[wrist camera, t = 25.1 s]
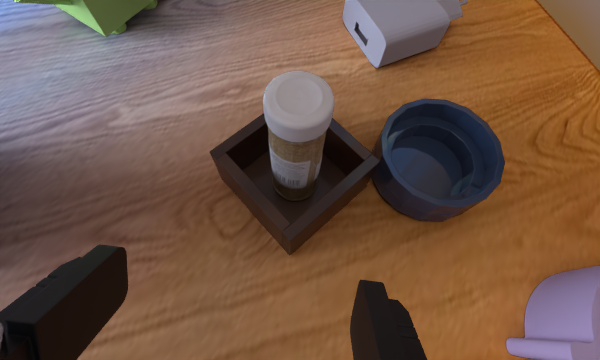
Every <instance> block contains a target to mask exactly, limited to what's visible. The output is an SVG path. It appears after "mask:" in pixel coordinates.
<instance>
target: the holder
mask: <svg viewBox="0 0 600 360" xmlns="http://www.w3.org/2000/svg"><path fill="white" fill-rule="evenodd" d="M210 154H211V156H212V158H213V160H214V163H215V165H216V167H217V169H218V171H219V174H220V176H221V178H222V180H223V181H224V182H225V183H226V184H227V185H228V186H229V188H230V189H231V190H232V191H233V192H234V193H235V194H236V195H237V197H238V198H239V199H240V200H241V201H242V202H243V203H244V205H245V206H246V207H247V208H248V209H249V210H250V211H251V212H252V214H253V215H254V216H255V217H256V218H257V219H258V220H259V221H260V223H261V224H262V225H263V226H264V227H265V228H266V229H267V230H268V232H269V233H270V234H271V235H272V236H273V237H274V238H275V239H276V241H277V242H278V243H279V244H280V245H281V246H282V247H283V248H284V250H285V251H286V252H287V253H288V254H289V255H291V254H292V253H293V252H294V251H296V250H297V249H298V248H299V247H300V246H301V245H302V244H303V243H304V242H305V241H307V240H308V239H309V238H310V237H311V236H312V235H313V234H314V233H315V232H317V231H318V230H319V229H320V228H321V227H322V226H323V225H324V224H325V223H327V222H328V221H329V220H330V219H331V218H332V217H333V216H334V215H335V214H337V213H338V212H339V211H340V210H341V209H342V208H343V207H344V206H345V205H346V204H348V203H349V202H350V201H351V200H352V199H353V198H354V197H355V196H356V195H358V194H359V193H360V192H361V191H362V190H363V189H364V188H365V187H366V186H367V184H368V182H369V181H370V179H371V177H372V175H373V174H374V172H375V170H376V168H377V167H378V165H379V163H380V161H379V160H378V159H377V158H376V157H375V156H374V155H373V154H372V153H371V152H370V151H368V150H367V149H366V148H365V147H364V146H363V145H362V144H361V143H360V142H358V141H357V140H356V139H355V138H354V137H353V136H352V135H351V134H350V133H348V132H347V131H346V130H345V129H344V128H343V127H342V126H341V125H340V124H338V123H337V122H336V121H335V120H334V119H333V118H332V120H331V123H330V125H329V127H328V129H327V130H326V136H325V141H324V146H323V151H322V161H321V166H320V171H319V174H318V183H317V186H316V189H315V191H314V192H313V194H312V195H311V196H310V197H308V198H306V199H303V200H300V201H291V200H287V199H285V198H283V197H281V196H280V195H279V194H278V193H277V192H276V190H275V188H274V186H273V172H272V167H271V159H270V149H269V132H268V125H267V123H266V121H265V117H264V114H262V115H261V116H259V117H258V118H257V119H255V120H254V121H252V122H251V123H249V124H248V125H247V126H245V127H244V128H242V129H241V130H240V131H238V132H237V133H235V134H234V135H232V136H231V137H230V138H228V139H227V140H225V141H224V142H223V143H221V144H220V145H218V146H217V147H215V148H214V149H213V150H211V151H210Z"/></svg>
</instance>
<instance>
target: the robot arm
mask: <svg viewBox="0 0 600 360" xmlns="http://www.w3.org/2000/svg"><path fill="white" fill-rule="evenodd" d="M127 291H128V273H127V254H126V250H125V248H123V247H117V246H110V245H102V244H100V245H97V246H96V247H95V248H93V249H92V250H91V251H90V252H88V253H87V254H86V255H85V256H83V257H78V258H76V259H74V260H71V261H69V262H67V263H65V264H63V265H61V266H59V267H58V268H57V269H56V270H54V271H53V272H52V273H50V274H49V275H48V277H47V278H44V279H43V280H41V281H40V282H39V283H37V284H36V286H35V287H32V288H31V289H29V290H28V291H27V292H26V293H24V294H23V295H22V296H20V297H19V298H18V299H16V300H15V301H14V302H13V303H11V304H10V305H9V306H7V307H6V308H5V309H3V310H2V311H1V312H0V360H77V358H78V357H79V356H80V355H81V353H82V352H83V351H84V350H85V349H86V347H87V346H88V345H89V344H90V343H91V341H92V340H93V339H94V338H95V336H96V335H97V334H98V333H99V332H100V330H101V329H102V328H103V327H104V326H105V324H106V323H107V322H108V321H109V320H110V318H111V317H112V316H113V315H114V313H115V312H116V311H117V310H118V309H119V307H120V306H121V305H122V303H123V302H124V300H125V297H126V295H127ZM413 326H414V325H413V322H412V320H411V317H410V315H409V312H408V311H407V310H406V309H405V308H404V306H403V305H402V304H401V303H400V302H399V301H398V300H393V299H388V296H387V292H386V289H385V286H384V284H383V283H382V282H375V281H367V280H360V281H359V284H358V288H357V293H356V297H355V302H354V307H353V311H352V316H351V324H350V336H351V343H352V351H353V358H354V360H427V358H426V356H425V353H424V350H423V348H422V345H421V343H420V340H419V339H418V335H417V333H416V330H415V328H414V327H413Z"/></svg>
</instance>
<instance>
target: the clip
mask: <svg viewBox="0 0 600 360" xmlns="http://www.w3.org/2000/svg"><path fill="white" fill-rule="evenodd" d="M506 345H507V350H508V352H509V353H510V354H511V355H514V356H519V357H524V358H529V359H535V360H600V265H599V266H593V267H588V268H582V269H577V270H572V271H566V272H561V273H557V274H554V275H552V276H550V277H548V278H546V279H545V280H543V281H542V282H541V283H540V284H539V285H538V286H537V287H536V288H535V290H534V291H533V293H532V294H531V296H530V298H529V301H528V304H527V307H526V312H525V337H524V338H508V339H507V342H506Z"/></svg>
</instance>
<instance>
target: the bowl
mask: <svg viewBox="0 0 600 360" xmlns="http://www.w3.org/2000/svg"><path fill="white" fill-rule="evenodd" d="M372 154H373V155H374V156H375V157H376V158H377V159H378V160H379V161H380V163H379V165H378V167H377V168H376V170H375V172H374V174H373V175H372V178H373V180H374V182H375V184H376V186H377V189H378V191H379V193H380V194H381V196H382V197H383V198H384V199H385V200H386V201H387V202H388V203H390V204H391V205H392V206H393V207H394V208H395V209H396V210H397V211H399V212H402V213H404V214H406V215H408V216H411V217H413V218H415V219H418V220H424V221H445V220H447V219H450V218H453V217H455V216H458V215H461V214H463V213H464V212H466V211H467V210H469V209H470V208H472V207H474V206H475V205H477V204H478V203H480V202H482V201H483V200H485V199H486V198H487V197H488V196H489V195H490V194H491V193H492V192H493V191H494V190H495V188H496V187H497V186H498V185H499V184H500V182H501V178H502V173H503V169H504V165H505V161H504V157H503V152H502V148H501V144H500V141H499V139H498V138H497V136H496V135H495V134H494V132H493V131H492V129H491V128H490V126H489V125H488V123H487V122H485V121H484V120H483V119H481V118H480V117H479V116H478V115H476V114H475V113H474V112H472V111H471V110H470V109H468V108H466V107H464V106H461V105H458V104H456V103H453V102H450V101H448V100H439V99H421V100H417V101H414V102H410V103H407V104H404V105H402V106H401V107H400V108H399V109H398V110H396V111H395V112H394V113H393V114H392V115H390V116H389V117H388V119H387V121H386V123H385V125H384V127H383V129H382V131H381V133H380V136H379V138H378V140H377V142H376V144H375V146H374V149H373V151H372Z"/></svg>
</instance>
